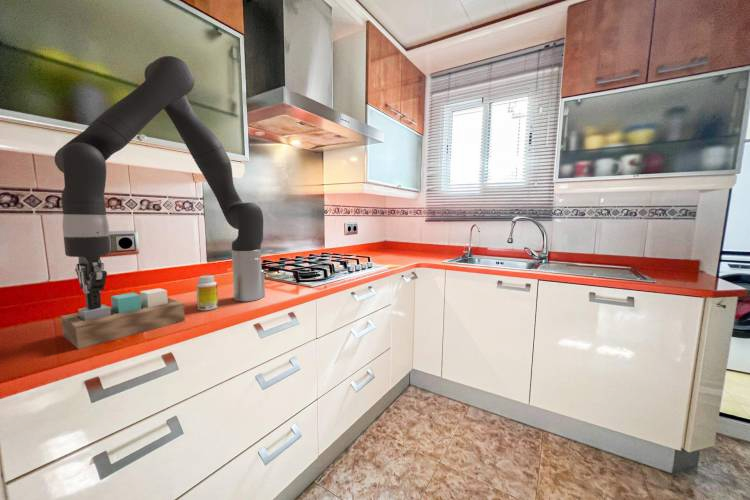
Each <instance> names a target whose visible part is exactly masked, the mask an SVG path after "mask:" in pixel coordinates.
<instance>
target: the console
mask: <svg viewBox="0 0 750 500" xmlns="http://www.w3.org/2000/svg"><path fill="white" fill-rule="evenodd" d="M184 305H185V304H184V302H181V301H179V300H175V299H173V298H169V297H168V303H167V304H162V305H157V306H152V307H148V308H147V307H144V306H142V305H141V309H138V310H133V311H129V312H124V313H119V314H117V313H115V312H113V311H112V305H111V306H109V307H110V309H111V315H110V316H105V317H100V318H96V319H91V320H86V321H82V320H81V319H79V312H76V313H75V312H74V313H71V314H66V315H61V316H60V318H61V319H60V321H61V328H62V337H63V338H64V339H65V340H67V341H68V342H69V343H70V344H72V345H73V347H76V349H78V350H81V349H85V348H88V347H92V346H96V345H100V344H103V343H107V342H111V341H115V340H118V339H122V338H126V337H129V336H134V335H137V334H140V333H144V332H145V333H146V332H149V331H152V330H156V329H159V328H163V327H167V326H170V325H174V324H178V323H182V322H185V320H186V319H185V318H186V317H185V306H184Z"/></svg>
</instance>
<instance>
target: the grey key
mask: <svg viewBox="0 0 750 500" xmlns="http://www.w3.org/2000/svg"><path fill="white" fill-rule="evenodd" d="M110 307H111V306H109V305H106V304H104V303H103V304H102V303H101V307H100V308H96V309H91V310H90V309H88V308H87V306H86V307H82V308H78V313H79V319H81V320H82V321H86V320H91V319H96V318H100V317H105V316H110V315H111V309H110Z"/></svg>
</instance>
